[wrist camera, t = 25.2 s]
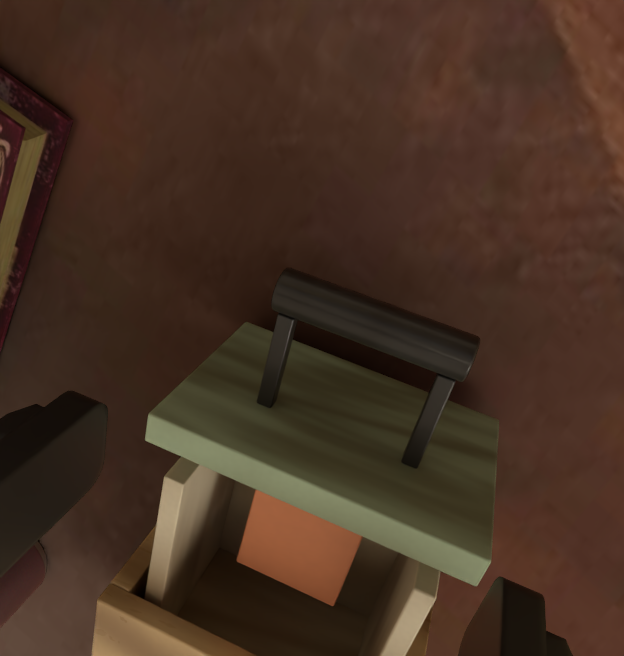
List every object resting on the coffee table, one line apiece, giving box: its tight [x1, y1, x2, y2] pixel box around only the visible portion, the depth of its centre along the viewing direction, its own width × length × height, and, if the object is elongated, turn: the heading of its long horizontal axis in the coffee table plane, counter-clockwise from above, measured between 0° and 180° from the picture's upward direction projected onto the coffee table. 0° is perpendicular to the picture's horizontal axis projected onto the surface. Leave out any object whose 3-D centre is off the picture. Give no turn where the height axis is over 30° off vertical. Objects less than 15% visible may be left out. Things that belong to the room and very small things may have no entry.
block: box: [237, 489, 363, 606], centre depth 25 cm, size 4×4×4 cm
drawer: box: [144, 268, 499, 656], centre depth 23 cm, size 19×12×8 cm, turn 165°
